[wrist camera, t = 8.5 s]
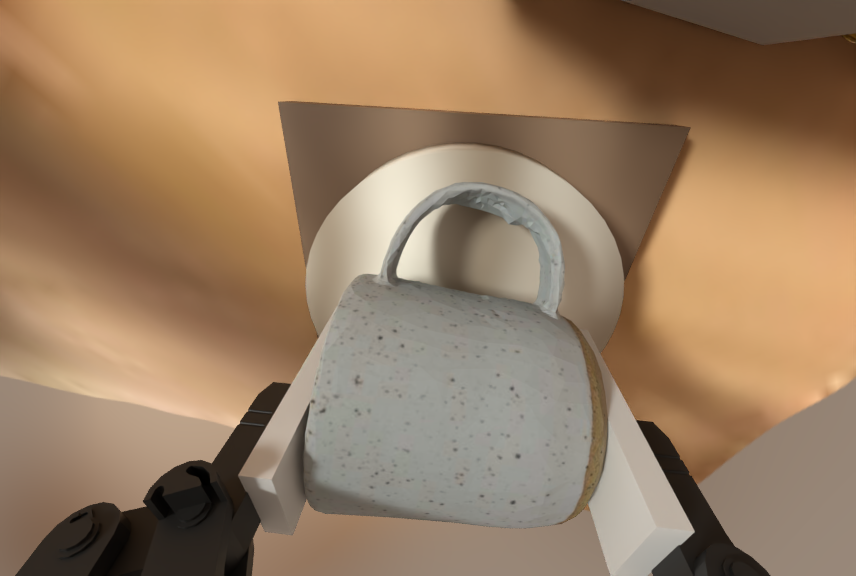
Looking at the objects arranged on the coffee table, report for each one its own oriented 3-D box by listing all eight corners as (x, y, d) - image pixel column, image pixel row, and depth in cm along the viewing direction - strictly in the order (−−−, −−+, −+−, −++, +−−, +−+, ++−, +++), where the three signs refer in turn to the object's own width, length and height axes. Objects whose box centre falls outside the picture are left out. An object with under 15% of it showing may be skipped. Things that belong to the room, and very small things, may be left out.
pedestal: (331, 367, 22) (310, 411, 19) (291, 101, 14) (243, 103, 11) (565, 391, 21) (582, 441, 18) (672, 124, 13) (737, 134, 10)
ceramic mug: (525, 400, 16) (563, 601, 10) (368, 375, 17) (302, 553, 10) (602, 190, 11) (804, 322, 4) (368, 161, 11) (230, 243, 5)
